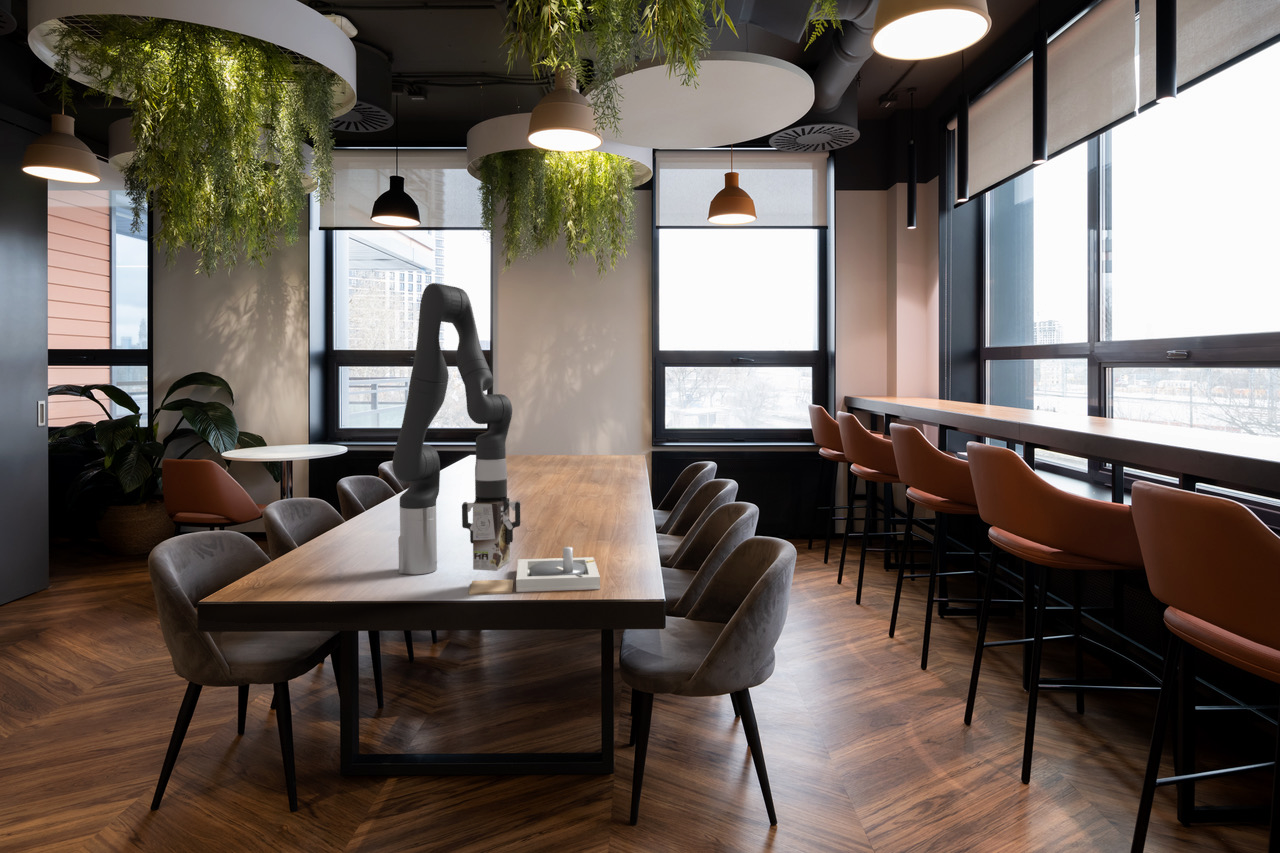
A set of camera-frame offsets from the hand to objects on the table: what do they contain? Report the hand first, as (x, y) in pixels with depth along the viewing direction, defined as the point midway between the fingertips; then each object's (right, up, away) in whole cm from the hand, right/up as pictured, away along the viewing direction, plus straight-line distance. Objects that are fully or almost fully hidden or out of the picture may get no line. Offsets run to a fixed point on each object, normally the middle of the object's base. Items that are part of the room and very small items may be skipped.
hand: (491, 544), depth 179 cm
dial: (+15, -9, +9) cm, 19 cm away
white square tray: (+15, -10, +9) cm, 20 cm away
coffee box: (0, -5, 0) cm, 6 cm away
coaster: (0, -11, +1) cm, 11 cm away
